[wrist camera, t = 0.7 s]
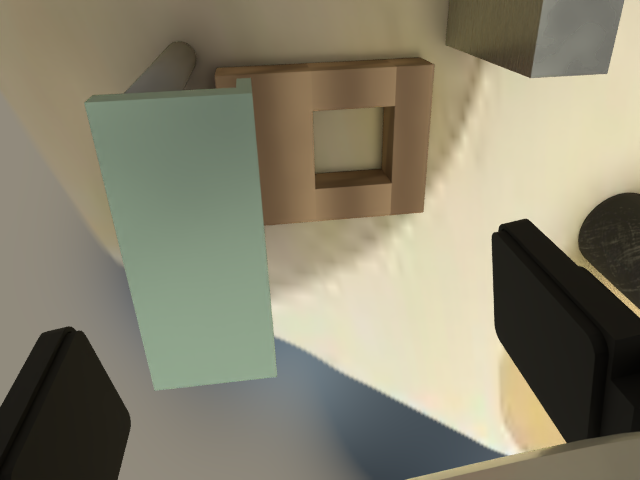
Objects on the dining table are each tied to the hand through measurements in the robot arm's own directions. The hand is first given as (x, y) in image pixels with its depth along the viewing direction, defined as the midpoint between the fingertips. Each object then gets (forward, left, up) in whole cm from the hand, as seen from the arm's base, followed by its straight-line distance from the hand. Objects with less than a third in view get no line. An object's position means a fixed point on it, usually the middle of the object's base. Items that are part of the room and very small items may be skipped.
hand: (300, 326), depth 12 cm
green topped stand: (+3, +4, -27) cm, 27 cm away
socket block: (-4, +4, -27) cm, 27 cm away
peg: (-15, -4, -27) cm, 31 cm away
